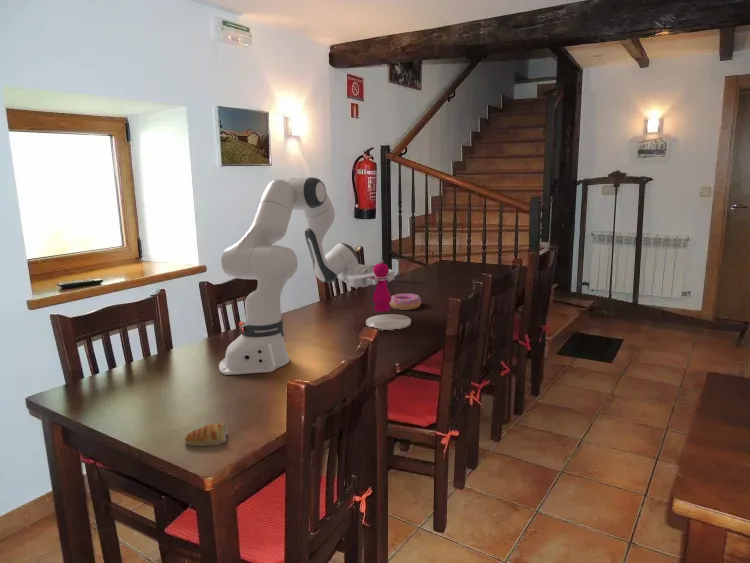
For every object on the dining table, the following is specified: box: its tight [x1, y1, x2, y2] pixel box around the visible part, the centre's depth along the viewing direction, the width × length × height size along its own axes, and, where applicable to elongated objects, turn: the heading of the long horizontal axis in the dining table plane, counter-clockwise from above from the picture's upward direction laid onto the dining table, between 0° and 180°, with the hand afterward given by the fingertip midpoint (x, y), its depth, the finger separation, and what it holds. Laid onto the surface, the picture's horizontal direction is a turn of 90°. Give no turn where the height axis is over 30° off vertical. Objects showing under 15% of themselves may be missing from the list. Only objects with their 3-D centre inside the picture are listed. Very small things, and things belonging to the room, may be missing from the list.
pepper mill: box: [372, 259, 392, 313], centre depth 207 cm, size 7×7×20 cm
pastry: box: [184, 422, 228, 448], centre depth 126 cm, size 9×7×4 cm
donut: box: [389, 293, 422, 311], centre depth 240 cm, size 14×14×5 cm
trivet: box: [365, 313, 412, 331], centre depth 214 cm, size 18×18×2 cm
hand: (382, 281), depth 206 cm, fingers closed on pepper mill, 5 cm apart
